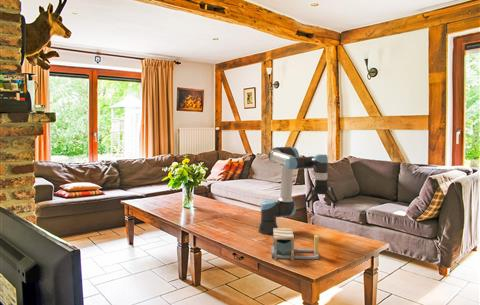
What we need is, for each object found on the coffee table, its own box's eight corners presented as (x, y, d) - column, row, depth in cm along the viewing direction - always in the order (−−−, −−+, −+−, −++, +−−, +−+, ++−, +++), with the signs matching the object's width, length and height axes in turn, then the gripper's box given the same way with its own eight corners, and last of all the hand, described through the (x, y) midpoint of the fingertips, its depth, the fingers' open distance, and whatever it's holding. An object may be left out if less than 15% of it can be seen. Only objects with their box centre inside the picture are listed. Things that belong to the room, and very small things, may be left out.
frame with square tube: (271, 250, 231) (271, 231, 230) (316, 251, 229) (316, 232, 228) (271, 257, 217) (272, 238, 217) (319, 259, 215) (319, 239, 214)
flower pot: (273, 254, 224) (273, 240, 223) (282, 251, 230) (282, 237, 229) (284, 258, 217) (284, 243, 217) (293, 254, 224) (293, 240, 223)
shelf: (273, 249, 234) (273, 228, 233) (291, 249, 233) (291, 228, 232) (273, 259, 215) (273, 237, 214) (293, 260, 214) (294, 237, 213)
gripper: (301, 179, 221) (301, 214, 222) (342, 180, 219) (342, 214, 220) (300, 178, 229) (300, 211, 230) (340, 178, 226) (340, 212, 227)
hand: (320, 213), depth 225 cm, fingers open, 13 cm apart
